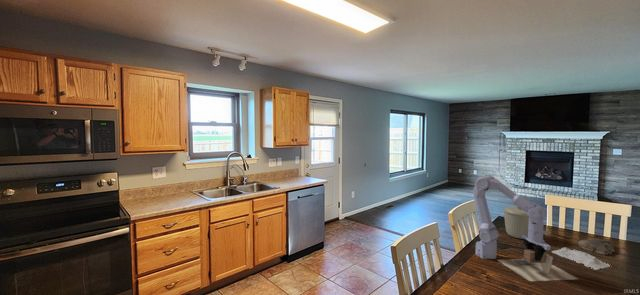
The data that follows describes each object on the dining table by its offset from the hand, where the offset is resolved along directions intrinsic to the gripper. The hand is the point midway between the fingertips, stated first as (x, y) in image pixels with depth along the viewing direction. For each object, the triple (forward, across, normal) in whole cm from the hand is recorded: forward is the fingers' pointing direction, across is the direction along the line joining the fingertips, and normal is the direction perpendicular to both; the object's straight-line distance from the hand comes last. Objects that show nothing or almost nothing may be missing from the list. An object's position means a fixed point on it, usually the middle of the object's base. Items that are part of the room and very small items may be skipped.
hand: (534, 258), depth 134 cm
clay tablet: (+8, +24, -60) cm, 65 cm away
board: (+7, +2, -2) cm, 7 cm away
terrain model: (+8, +12, -36) cm, 39 cm away
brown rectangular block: (+1, 0, 0) cm, 1 cm away
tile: (+6, 0, -4) cm, 7 cm away
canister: (+7, +45, -29) cm, 54 cm away
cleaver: (+8, +51, -51) cm, 72 cm away
